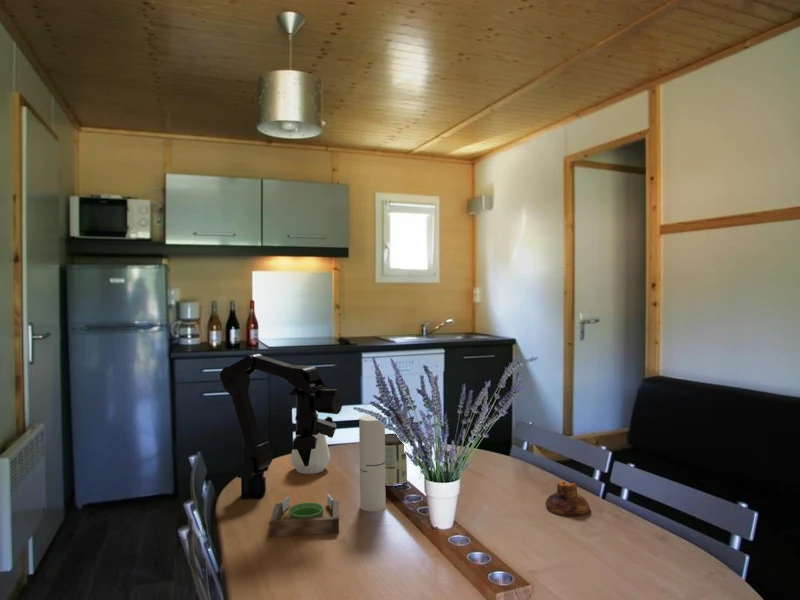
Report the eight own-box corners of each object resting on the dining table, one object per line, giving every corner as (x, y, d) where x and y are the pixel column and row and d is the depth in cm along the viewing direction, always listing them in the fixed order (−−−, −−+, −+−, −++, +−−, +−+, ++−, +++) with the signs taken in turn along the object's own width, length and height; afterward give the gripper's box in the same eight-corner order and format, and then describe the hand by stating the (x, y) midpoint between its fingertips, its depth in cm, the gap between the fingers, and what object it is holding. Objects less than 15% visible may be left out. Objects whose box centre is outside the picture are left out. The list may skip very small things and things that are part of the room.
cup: (283, 474, 185) (282, 432, 185) (302, 462, 198) (301, 423, 198) (320, 477, 181) (319, 434, 181) (336, 465, 194) (336, 425, 194)
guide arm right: (335, 511, 153) (335, 500, 153) (332, 512, 152) (332, 501, 152) (329, 504, 158) (329, 493, 158) (326, 504, 158) (326, 494, 158)
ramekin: (307, 515, 150) (306, 499, 150) (331, 523, 145) (331, 507, 145) (281, 527, 143) (281, 510, 143) (306, 535, 138) (305, 518, 138)
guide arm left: (282, 514, 151) (282, 503, 151) (279, 514, 151) (279, 503, 151) (290, 506, 157) (290, 495, 157) (287, 506, 157) (287, 495, 157)
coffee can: (377, 476, 182) (376, 433, 182) (408, 476, 181) (408, 433, 181) (372, 486, 172) (372, 441, 172) (405, 487, 171) (405, 442, 171)
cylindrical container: (382, 512, 152) (381, 421, 152) (357, 510, 153) (356, 420, 153) (388, 502, 159) (387, 415, 159) (363, 501, 160) (363, 414, 160)
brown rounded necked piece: (536, 506, 156) (536, 480, 156) (568, 498, 162) (568, 473, 162) (566, 520, 146) (566, 493, 146) (599, 512, 151) (599, 485, 151)
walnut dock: (269, 536, 137) (269, 522, 137) (275, 516, 150) (275, 503, 150) (338, 532, 139) (338, 518, 139) (338, 513, 152) (338, 500, 152)
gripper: (334, 417, 150) (334, 475, 150) (335, 404, 169) (335, 455, 169) (292, 418, 149) (292, 477, 149) (298, 404, 168) (298, 456, 168)
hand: (306, 465), depth 159 cm, fingers closed
